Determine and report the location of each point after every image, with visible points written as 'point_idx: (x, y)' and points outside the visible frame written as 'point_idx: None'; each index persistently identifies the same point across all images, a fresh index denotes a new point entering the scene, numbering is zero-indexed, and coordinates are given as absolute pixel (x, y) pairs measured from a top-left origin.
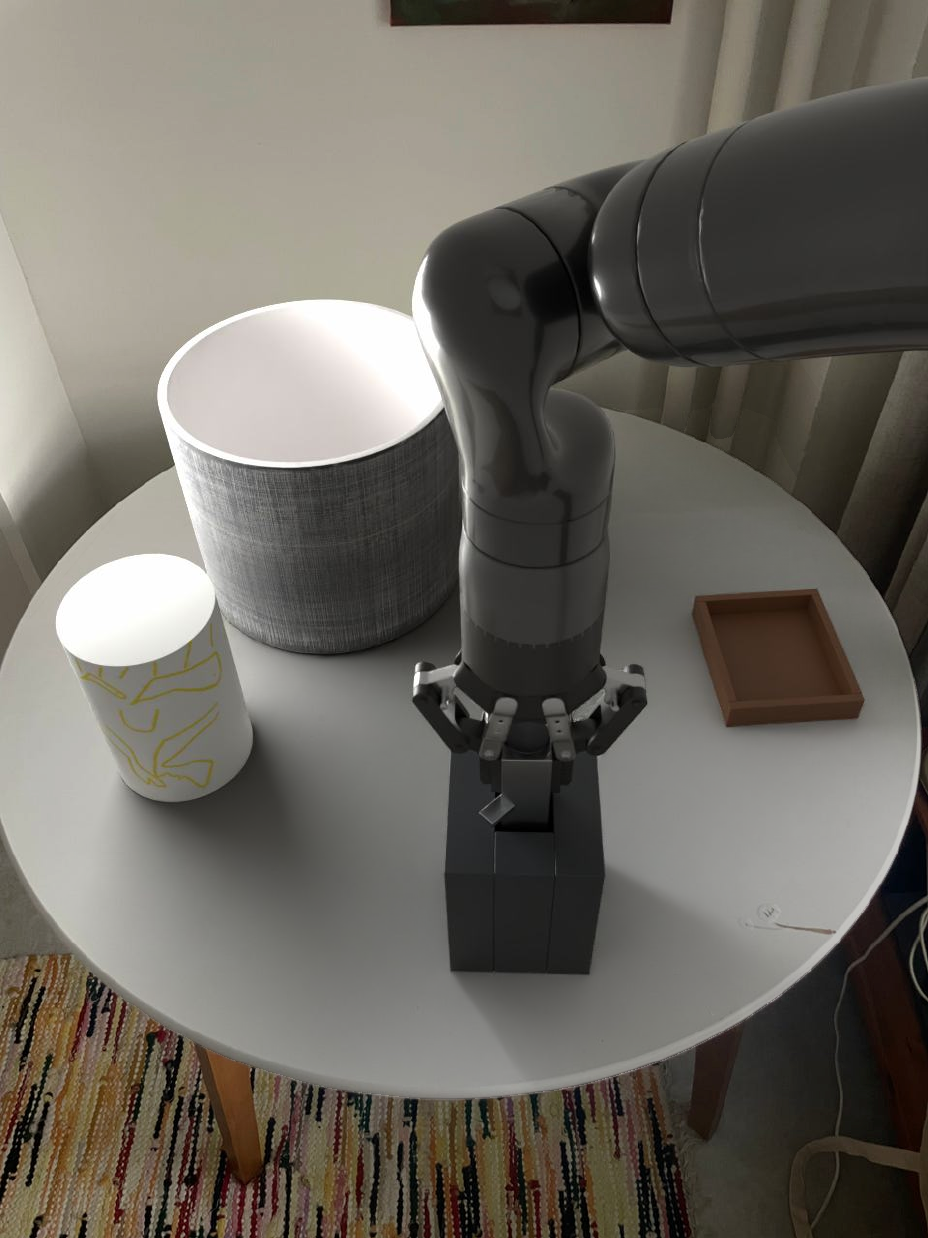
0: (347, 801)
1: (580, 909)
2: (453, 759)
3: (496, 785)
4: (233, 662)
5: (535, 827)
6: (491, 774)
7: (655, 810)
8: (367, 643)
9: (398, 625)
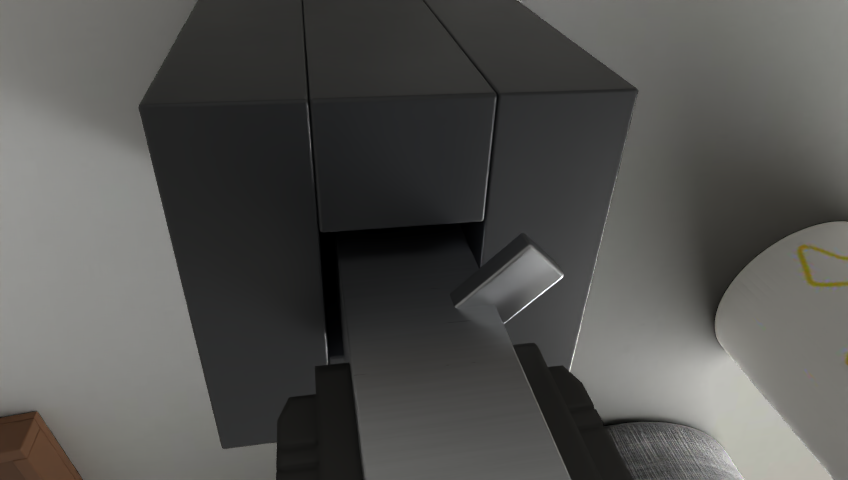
0: (608, 244)
1: (228, 39)
2: None
3: (532, 373)
4: (819, 438)
5: (371, 242)
6: (573, 422)
7: (133, 276)
8: None
9: None
